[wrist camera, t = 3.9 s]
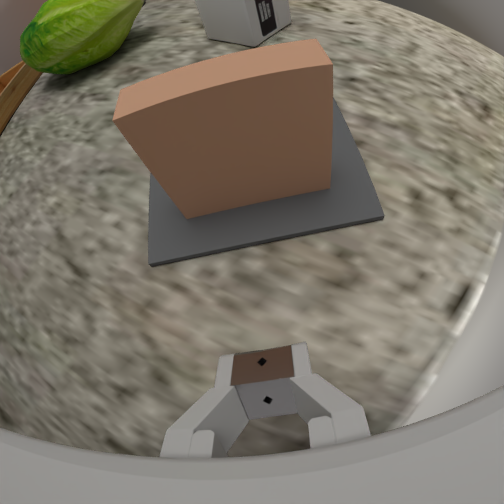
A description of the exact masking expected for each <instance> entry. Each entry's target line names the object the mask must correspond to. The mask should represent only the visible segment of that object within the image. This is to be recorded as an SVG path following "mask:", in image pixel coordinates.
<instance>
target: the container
mask: <svg viewBox="0 0 504 504" xmlns="http://www.w3.org/2000/svg"><path fill="white" fill-rule="evenodd" d="M195 3H196V5H197V8H198V11H199V14H200V17H201V20H202V22H203V25H204V28H205V31H206V34H207V37H208V38H209V39H214V40H220V41H226V42H231V43H237V44H242V45H246V46H251V47H256V46H257V45H259V44H260V43H261V42H263V41H264V40H266V39H267V38H269V37H270V36H272V35H273V34H275V33H276V32H278V31H279V30H281V29H282V28H284V27H285V26H287V25H288V24H290V23H291V16H290V9H289V3H288V0H195Z"/></svg>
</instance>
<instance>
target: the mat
mask: <svg viewBox="0 0 504 504" xmlns="http://www.w3.org/2000/svg"><path fill="white" fill-rule="evenodd" d="M383 218H384V213H383V210H382V207H381V205H380V202H379V199H378V197H377V194H376V191H375V189H374V186H373V184H372V181H371V179H370V176H369V174H368V171H367V169H366V167H365V164H364V162H363V159H362V157H361V155H360V152H359V150H358V148H357V146H356V143H355V141H354V139H353V137H352V135H351V132H350V130H349V128H348V126H347V124H346V122H345V120H344V118H343V116H342V114H341V112H340V110H339V107H338V105H337V104H336V102H335V100H334V98H333V133H332V162H331V183H330V189H324V190H319V191H314V192H309V193H304V194H299V195H294V196H289V197H284V198H279V199H274V200H269V201H265V202H260V203H255V204H251V205H246V206H242V207H237V208H233V209H228V210H224V211H219V212H215V213H211V214H206V215H202V216H198V217H194V218H190V219H186V218H185V216H184V215H183V214H182V213H181V211H180V210H179V209H178V207H177V206H176V205H175V203H174V202H173V201H172V200H171V198H170V197H169V196H168V194H167V193H166V192H165V190H164V189H163V188H162V186H161V185H160V184H159V182H158V181H157V180H156V179H155V177H154V176H153V175H152V173H151V175H150V195H149V232H148V264H149V265H150V266H157V265H161V264H166V263H171V262H176V261H180V260H185V259H190V258H195V257H200V256H204V255H209V254H214V253H219V252H224V251H229V250H233V249H238V248H243V247H248V246H253V245H258V244H263V243H267V242H272V241H277V240H282V239H287V238H292V237H297V236H302V235H307V234H312V233H317V232H322V231H327V230H331V229H336V228H341V227H346V226H351V225H356V224H361V223H366V222H371V221H376V220H381V219H383Z"/></svg>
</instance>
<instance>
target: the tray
mask: <svg viewBox="0 0 504 504" xmlns="http://www.w3.org/2000/svg"><path fill="white" fill-rule="evenodd" d="M42 73H43V72H38V71H36V70H35V69H33V68H31V67H30V66H28V65H27V64H25V62H24V61H21V62H20V63H18V64H17V65H15V66H14V67H12V68H11V69H9V70H8V71H6V72H5V73H4V74H2V75H1V76H0V134H1V133H2V131H3V129H4V128H5V126H6V125H7V123H8V121H9V120H10V118H11V117H12V115H13V114H14V112H15V111H16V109H17V108H18V106H19V105H20V103H21V102H22V100H23V99H24V97H25V96H26V95H27V93H28V92H29V91H30V89H31V88H32V87H33V85H34V84H35V83H36V81H37V80H38V79H39V77H40V76H41V75H42Z"/></svg>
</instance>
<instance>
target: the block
mask: <svg viewBox="0 0 504 504" xmlns="http://www.w3.org/2000/svg"><path fill="white" fill-rule="evenodd" d="M113 122H114V123H115V125H116V126H117V127H118V129H119V130H120V131H121V133H122V134H123V136H124V137H125V138H126V140H127V141H128V142H129V144H130V145H131V146H132V148H133V149H134V150H135V152H136V153H137V155H138V156H139V157H140V159H141V160H142V161H143V163H144V164H145V165H146V167H147V168H148V169H149V171H150V172H151V173H152V175H153V176H154V177H155V179H156V180H157V181H158V182H159V184H160V185H161V186H162V188H163V189H164V190H165V192H166V193H167V194H168V196H169V197H170V198H171V200H172V201H173V202H174V203H175V205H176V206H177V207H178V209H179V210H180V211H181V213H182V214H183V215H184V216H185V218H186V219H190V218H194V217H198V216H202V215H206V214H211V213H215V212H219V211H224V210H228V209H233V208H237V207H242V206H246V205H251V204H255V203H260V202H265V201H269V200H274V199H279V198H284V197H289V196H294V195H299V194H304V193H309V192H314V191H319V190H324V189H330V183H331V162H332V133H333V64H332V62H331V60H330V59H329V57H328V56H327V54H326V53H325V51H324V50H323V48H322V47H321V45H320V44H319V42H318V41H317V39H309V40H301V41H294V42H287V43H281V44H275V45H270V46H264V47H259V48H254V49H249V50H245V51H240V52H236V53H231V54H227V55H223V56H219V57H215V58H212V59H208V60H204V61H201V62H197V63H194V64H191V65H187V66H184V67H181V68H178V69H175V70H172V71H169V72H166V73H163V74H160V75H157V76H154V77H152V78H149V79H146V80H144V81H141V82H138V83H136V84H133V85H131V86H128V87H126V88H123V89H121V90H120V93H119V97H118V101H117V105H116V109H115V113H114V117H113Z"/></svg>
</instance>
